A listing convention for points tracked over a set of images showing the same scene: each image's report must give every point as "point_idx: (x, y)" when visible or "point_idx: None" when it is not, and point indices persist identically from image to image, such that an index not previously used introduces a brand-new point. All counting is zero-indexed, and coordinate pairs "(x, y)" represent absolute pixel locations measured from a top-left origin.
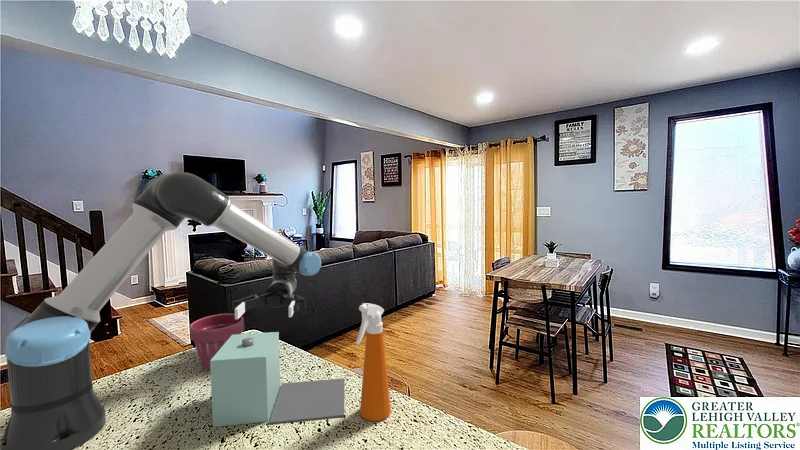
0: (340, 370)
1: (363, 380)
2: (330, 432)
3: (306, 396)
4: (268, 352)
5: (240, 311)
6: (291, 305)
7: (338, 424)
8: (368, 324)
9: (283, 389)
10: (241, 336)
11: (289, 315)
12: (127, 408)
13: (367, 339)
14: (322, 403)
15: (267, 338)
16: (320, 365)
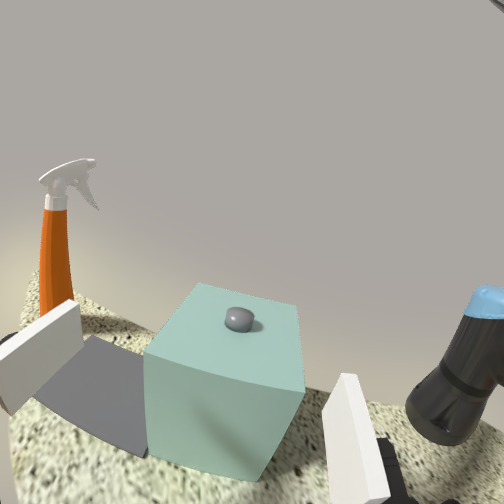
0: (11, 423)
1: (69, 281)
2: (120, 329)
3: (113, 391)
4: (192, 291)
5: (338, 430)
6: (50, 315)
7: (105, 332)
8: (66, 196)
9: (145, 433)
10: (267, 371)
11: (80, 337)
12: (420, 457)
13: (66, 219)
14: (100, 364)
15: (186, 331)
16: (29, 474)
